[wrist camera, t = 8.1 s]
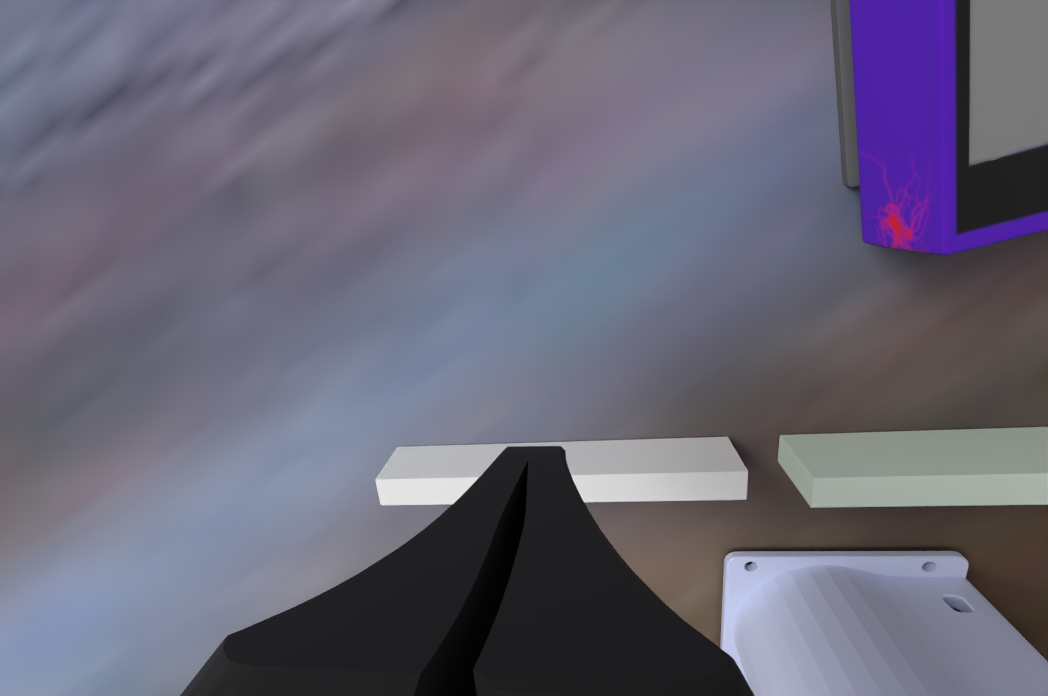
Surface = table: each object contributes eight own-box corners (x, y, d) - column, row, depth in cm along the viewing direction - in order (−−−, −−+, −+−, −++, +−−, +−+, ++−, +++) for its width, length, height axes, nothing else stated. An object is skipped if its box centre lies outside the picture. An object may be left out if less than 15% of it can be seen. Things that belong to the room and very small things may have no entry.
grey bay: (755, -215, 13) (793, -299, 11) (726, 462, 20) (746, 499, 18) (284, -124, 15) (230, -180, 13) (402, 470, 22) (380, 505, 19)
